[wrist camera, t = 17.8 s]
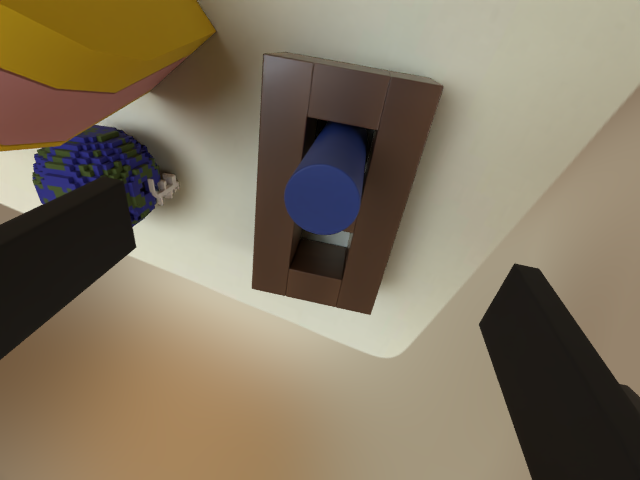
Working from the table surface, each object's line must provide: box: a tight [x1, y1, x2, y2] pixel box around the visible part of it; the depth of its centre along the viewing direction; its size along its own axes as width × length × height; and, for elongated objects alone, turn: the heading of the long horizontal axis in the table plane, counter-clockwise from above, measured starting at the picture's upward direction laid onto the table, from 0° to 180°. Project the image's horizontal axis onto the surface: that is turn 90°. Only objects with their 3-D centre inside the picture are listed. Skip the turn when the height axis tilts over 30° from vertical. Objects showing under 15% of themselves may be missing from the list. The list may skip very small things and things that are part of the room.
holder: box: [252, 52, 443, 315], centre depth 25 cm, size 10×18×5 cm, turn 171°
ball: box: [32, 125, 180, 227], centre depth 26 cm, size 8×8×8 cm
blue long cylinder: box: [284, 121, 368, 235], centre depth 20 cm, size 4×4×12 cm
